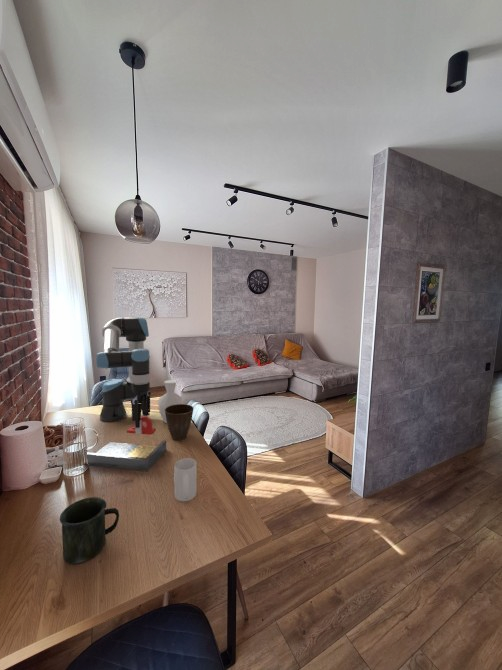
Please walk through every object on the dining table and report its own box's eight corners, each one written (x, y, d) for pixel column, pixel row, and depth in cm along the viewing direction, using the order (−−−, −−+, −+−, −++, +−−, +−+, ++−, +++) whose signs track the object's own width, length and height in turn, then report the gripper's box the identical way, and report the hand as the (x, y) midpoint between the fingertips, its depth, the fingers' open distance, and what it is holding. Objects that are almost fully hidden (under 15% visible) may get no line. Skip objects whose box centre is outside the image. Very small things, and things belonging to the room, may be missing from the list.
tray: (110, 444, 137) (109, 435, 136) (166, 450, 133) (166, 440, 132) (83, 464, 119) (83, 453, 119) (147, 471, 115) (147, 460, 115)
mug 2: (173, 511, 92) (173, 478, 91) (173, 489, 104) (173, 459, 103) (198, 507, 95) (198, 474, 94) (195, 485, 106) (195, 456, 105)
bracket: (155, 430, 128) (155, 414, 127) (151, 434, 123) (150, 418, 123) (132, 428, 130) (132, 412, 129) (126, 432, 125) (126, 416, 125)
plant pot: (191, 429, 156) (191, 403, 155) (194, 441, 142) (194, 412, 140) (164, 433, 151) (164, 405, 150) (165, 445, 137) (164, 415, 136)
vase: (172, 414, 178) (172, 377, 176) (187, 420, 170) (187, 381, 168) (153, 421, 166) (153, 381, 164) (168, 427, 158) (168, 386, 156)
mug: (65, 541, 80) (63, 503, 79) (119, 525, 86) (119, 489, 85) (57, 573, 70) (55, 530, 69) (119, 552, 76) (118, 513, 75)
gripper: (143, 377, 134) (144, 423, 136) (121, 387, 116) (123, 439, 118) (157, 378, 133) (158, 424, 135) (138, 388, 115) (139, 440, 117)
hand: (141, 431), depth 126 cm, fingers closed on bracket, 4 cm apart
